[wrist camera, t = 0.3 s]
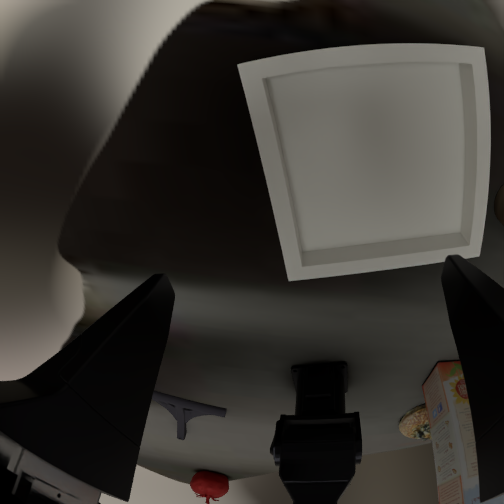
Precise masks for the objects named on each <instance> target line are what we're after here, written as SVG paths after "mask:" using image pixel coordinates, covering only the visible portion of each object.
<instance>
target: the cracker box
mask: <svg viewBox="0 0 504 504" xmlns="http://www.w3.org/2000/svg"><path fill="white" fill-rule="evenodd" d="M422 388H423V393H424V398H425V403H426V408H427V414H428V420H429V426H430V432H431V437H432V444H433V451H434V459H435V467H436V476H437V486H438V498H439V504H504V495H501V496H499V497H496V498H494V499H491V500H488V501H485V502H483V503H480V495H479V476H478V464H477V454H476V445H475V443H476V442H475V436H474V429H473V422H472V416H471V410H470V405H469V399H468V394H467V389H466V385H465V380H464V375H463V371H462V367H461V363H460V361H453V362H439V363H437V365H436V367H435V368H434V370H433V371H432V373H431V374H430V376H429V377H428V379H427V380H426V382H425V383H424V384H423V386H422Z"/></svg>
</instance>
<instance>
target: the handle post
mask: <svg viewBox="0 0 504 504" xmlns="http://www.w3.org/2000/svg"><path fill="white" fill-rule="evenodd" d="M494 211H495V215H496V217H497V219H498V220H499V221H500V222H501V223H502V224H503V225H504V184H503V186H502V187H501V188H500V189H499V191H498V193H497V195H496V198H495V203H494Z"/></svg>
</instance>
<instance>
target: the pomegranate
mask: <svg viewBox="0 0 504 504" xmlns="http://www.w3.org/2000/svg"><path fill="white" fill-rule="evenodd" d="M190 486H191V488H192V490H193V491H194V492H195V493H198V494H200V495H198V496H201V497H206V503H207V504H209V499H210V497H211V498H212V499H213V500H214V501H219V500H215V499H214V498H219V497H222V496H223V495H225V494H226V493H227V492H228V490H229V481H228V478H227V477H226V476H224V475H222V474H219V473H215V472H210V471H200V472H198V473H196V474H195V475H194V476H193V478H192V480H191V482H190ZM196 495H197V494H196ZM198 496H197V497H198Z"/></svg>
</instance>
